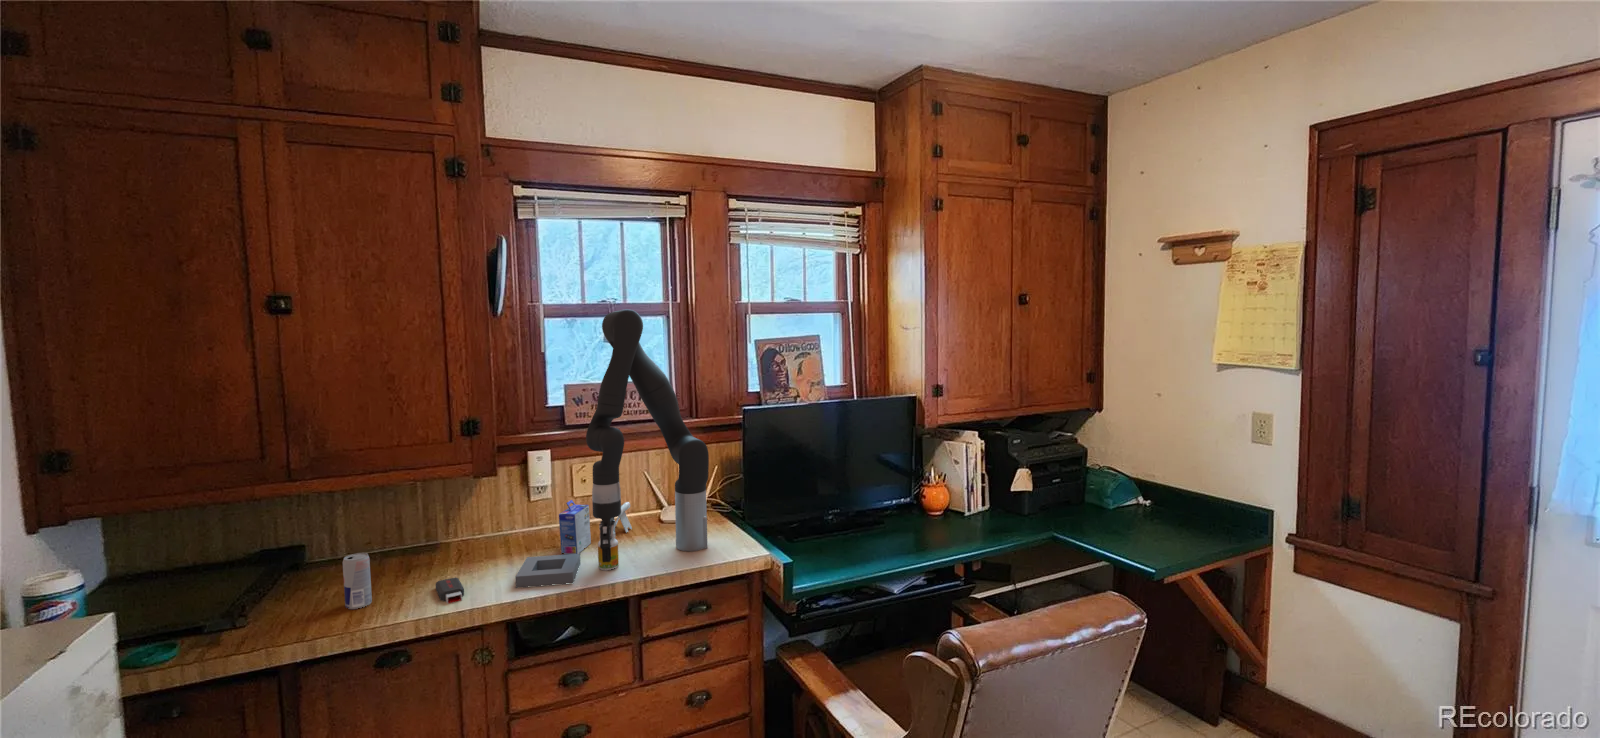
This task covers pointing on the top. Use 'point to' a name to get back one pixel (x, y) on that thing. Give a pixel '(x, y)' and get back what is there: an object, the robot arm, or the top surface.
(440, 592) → the usb drive
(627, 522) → the portable electronic device stand
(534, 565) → the socket block
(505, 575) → the top surface
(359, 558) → the energy drink
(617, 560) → the supplement bottle
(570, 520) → the ink cartridge box
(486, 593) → the top surface
